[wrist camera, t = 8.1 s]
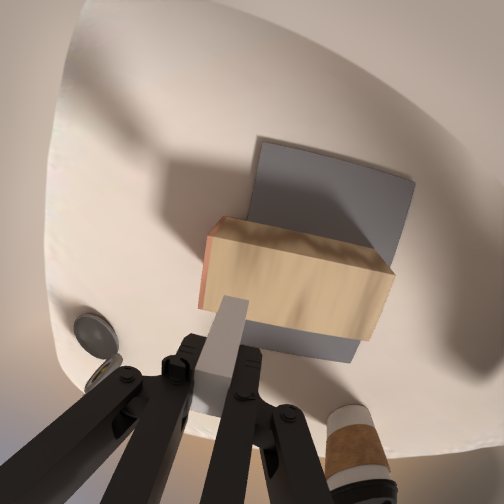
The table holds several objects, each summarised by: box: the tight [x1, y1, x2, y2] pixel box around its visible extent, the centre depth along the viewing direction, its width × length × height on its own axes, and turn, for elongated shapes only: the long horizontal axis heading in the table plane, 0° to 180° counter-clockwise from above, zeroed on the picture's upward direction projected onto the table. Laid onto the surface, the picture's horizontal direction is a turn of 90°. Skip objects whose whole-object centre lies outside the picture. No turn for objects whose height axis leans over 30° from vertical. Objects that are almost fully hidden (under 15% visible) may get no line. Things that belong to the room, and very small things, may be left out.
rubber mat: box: [240, 142, 415, 363], centre depth 28 cm, size 14×20×1 cm
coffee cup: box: [325, 405, 398, 504], centre depth 28 cm, size 8×8×15 cm
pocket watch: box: [74, 314, 123, 396], centre depth 30 cm, size 8×8×10 cm
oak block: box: [198, 216, 396, 341], centre depth 25 cm, size 6×6×14 cm
